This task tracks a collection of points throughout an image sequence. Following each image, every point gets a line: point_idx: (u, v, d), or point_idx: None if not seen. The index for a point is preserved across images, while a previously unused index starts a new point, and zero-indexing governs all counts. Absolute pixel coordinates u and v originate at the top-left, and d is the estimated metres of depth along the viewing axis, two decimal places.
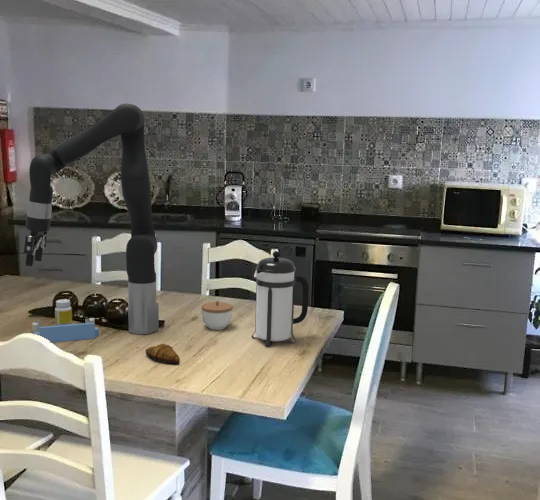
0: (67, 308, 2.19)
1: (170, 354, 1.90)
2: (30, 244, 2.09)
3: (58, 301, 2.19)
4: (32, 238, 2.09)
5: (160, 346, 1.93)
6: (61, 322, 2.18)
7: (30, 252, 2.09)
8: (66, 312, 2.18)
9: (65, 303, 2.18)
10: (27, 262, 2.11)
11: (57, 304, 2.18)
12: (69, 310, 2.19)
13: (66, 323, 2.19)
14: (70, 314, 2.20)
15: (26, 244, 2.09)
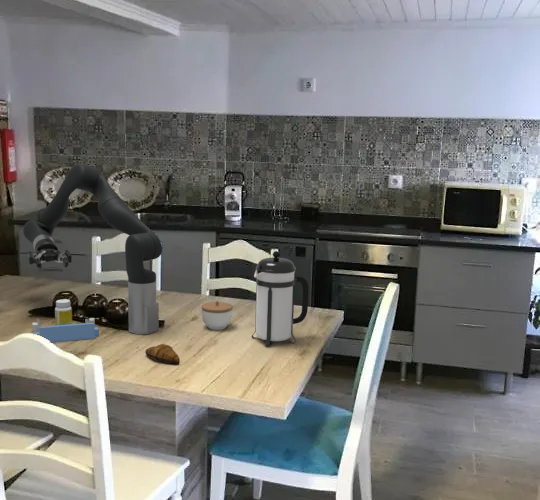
0: (67, 308, 2.19)
1: (170, 355, 1.90)
2: (28, 256, 2.27)
3: (58, 301, 2.19)
4: (28, 252, 2.28)
5: (160, 346, 1.93)
6: (61, 322, 2.18)
7: None
8: (66, 312, 2.18)
9: (65, 303, 2.18)
10: (36, 265, 2.23)
11: (57, 304, 2.18)
12: (69, 310, 2.19)
13: (66, 323, 2.19)
14: (70, 314, 2.20)
15: (28, 259, 2.27)
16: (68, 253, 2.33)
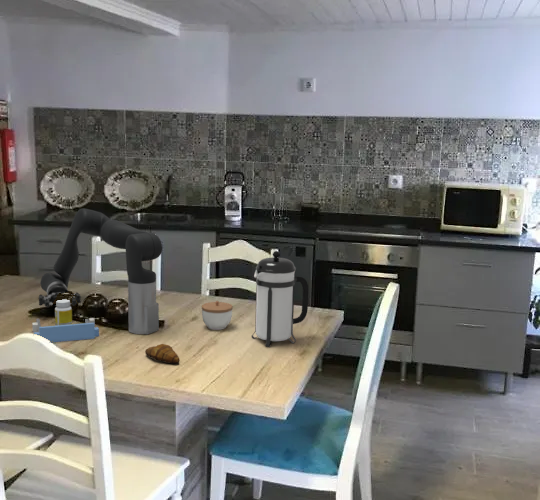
0: (67, 308, 2.19)
1: (170, 354, 1.90)
2: (39, 298, 2.34)
3: (58, 301, 2.19)
4: (39, 296, 2.35)
5: (160, 346, 1.93)
6: (61, 322, 2.18)
7: (39, 299, 2.31)
8: (66, 312, 2.18)
9: (65, 303, 2.18)
10: (45, 305, 2.29)
11: (57, 304, 2.18)
12: (69, 310, 2.19)
13: (66, 323, 2.19)
14: (70, 314, 2.20)
15: None
16: (77, 294, 2.38)
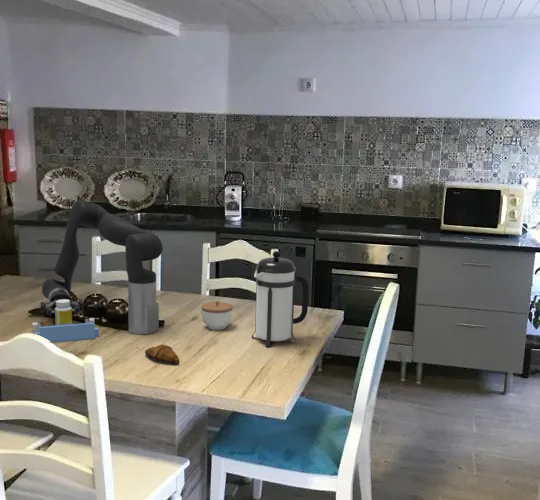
0: (67, 308, 2.19)
1: (170, 355, 1.90)
2: None
3: (58, 301, 2.19)
4: None
5: (160, 347, 1.92)
6: (61, 322, 2.18)
7: None
8: (66, 312, 2.18)
9: (65, 303, 2.18)
10: (47, 313, 2.19)
11: (57, 304, 2.18)
12: (69, 310, 2.19)
13: (66, 323, 2.19)
14: (70, 314, 2.20)
15: None
16: (81, 301, 2.28)
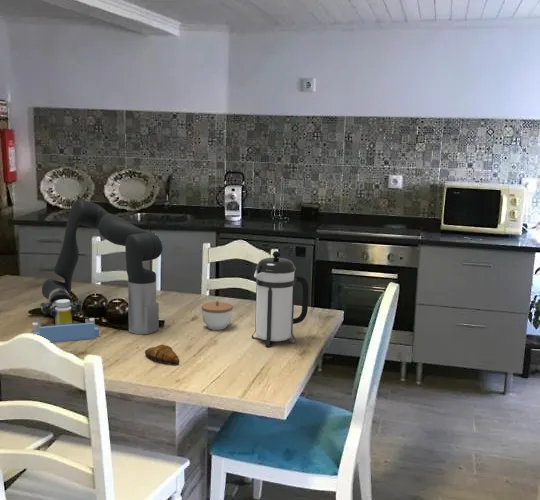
0: (67, 308, 2.19)
1: (170, 355, 1.90)
2: (42, 307, 2.22)
3: (58, 301, 2.19)
4: (41, 304, 2.24)
5: (160, 347, 1.92)
6: (61, 322, 2.18)
7: (44, 308, 2.20)
8: (66, 311, 2.18)
9: (65, 303, 2.18)
10: (51, 314, 2.18)
11: (57, 304, 2.18)
12: (69, 310, 2.19)
13: (66, 323, 2.19)
14: (70, 314, 2.20)
15: (42, 310, 2.22)
16: (79, 303, 2.26)
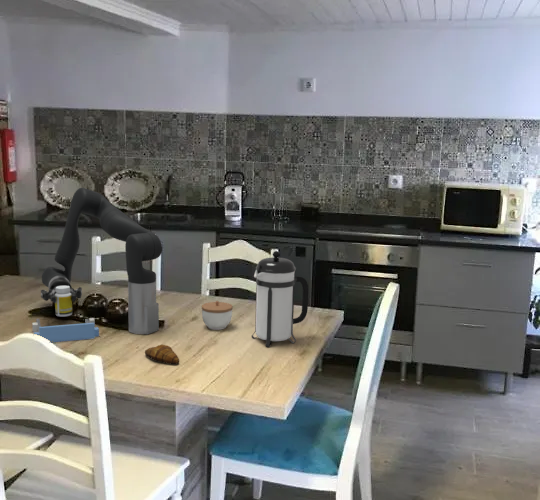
0: (67, 294, 2.17)
1: (169, 355, 1.90)
2: (42, 293, 2.21)
3: (58, 287, 2.18)
4: (41, 291, 2.23)
5: (159, 347, 1.92)
6: (61, 308, 2.17)
7: (44, 294, 2.19)
8: (66, 297, 2.17)
9: (65, 289, 2.17)
10: (51, 300, 2.16)
11: (57, 290, 2.17)
12: (69, 296, 2.18)
13: (66, 309, 2.17)
14: (70, 300, 2.19)
15: (42, 297, 2.21)
16: (79, 289, 2.25)
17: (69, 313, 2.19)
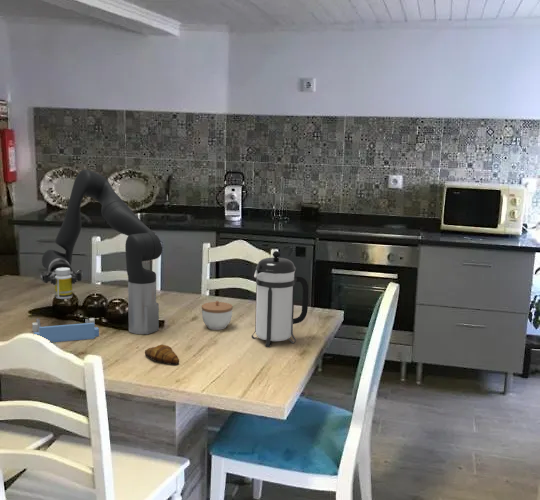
0: (67, 276, 2.13)
1: (169, 355, 1.90)
2: (42, 275, 2.17)
3: (58, 269, 2.14)
4: None
5: (159, 347, 1.92)
6: (61, 290, 2.13)
7: (44, 276, 2.15)
8: (66, 280, 2.13)
9: (65, 271, 2.13)
10: (50, 282, 2.12)
11: (57, 272, 2.13)
12: (69, 278, 2.14)
13: (66, 291, 2.14)
14: (70, 282, 2.15)
15: (42, 279, 2.17)
16: (79, 272, 2.21)
17: (69, 296, 2.15)
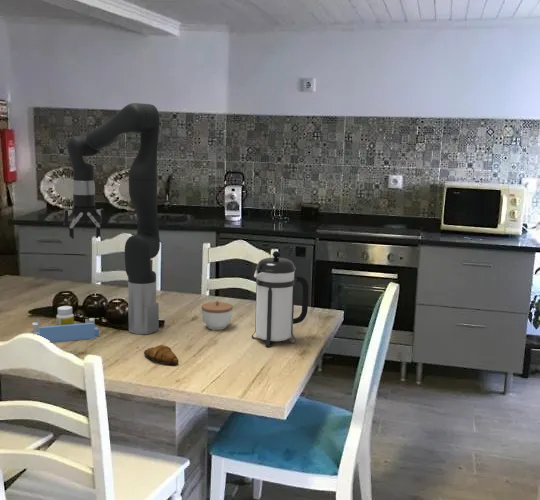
0: (69, 315, 2.10)
1: (169, 356, 1.90)
2: (64, 217, 2.30)
3: (60, 308, 2.11)
4: (64, 211, 2.29)
5: (159, 347, 1.92)
6: None
7: (64, 224, 2.30)
8: (68, 319, 2.10)
9: (67, 310, 2.10)
10: (69, 234, 2.33)
11: (59, 311, 2.10)
12: (71, 317, 2.11)
13: None
14: (72, 321, 2.12)
15: None
16: (103, 218, 2.35)
17: None
